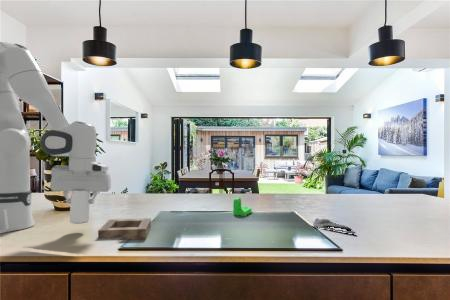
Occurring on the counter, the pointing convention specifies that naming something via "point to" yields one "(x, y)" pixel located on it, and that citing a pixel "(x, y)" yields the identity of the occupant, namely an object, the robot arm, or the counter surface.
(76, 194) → the can
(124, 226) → the socket block
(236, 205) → the mechanical part
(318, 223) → the cloth
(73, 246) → the counter surface
